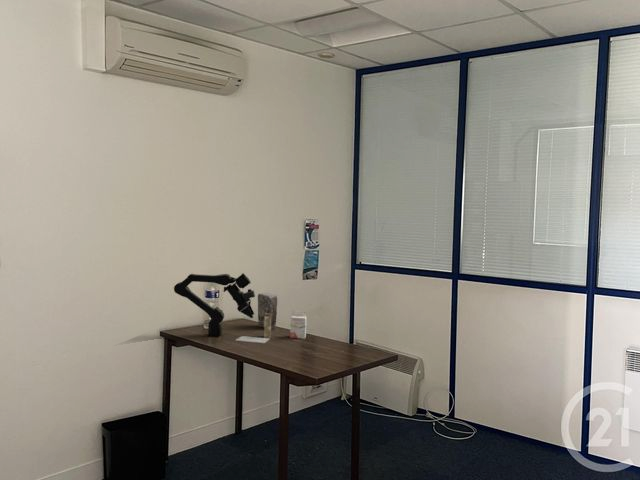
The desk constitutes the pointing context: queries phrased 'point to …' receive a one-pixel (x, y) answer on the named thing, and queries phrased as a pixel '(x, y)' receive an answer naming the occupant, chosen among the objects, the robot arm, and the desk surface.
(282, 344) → the desk surface
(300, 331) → the ink cartridge box
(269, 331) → the birch block
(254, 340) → the grey board
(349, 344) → the desk surface
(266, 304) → the stone block
